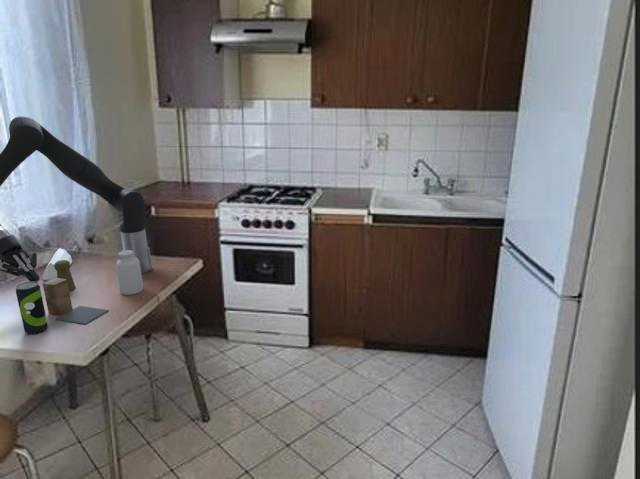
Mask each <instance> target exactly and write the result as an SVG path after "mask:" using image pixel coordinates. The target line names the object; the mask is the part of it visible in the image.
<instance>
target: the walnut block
mask: <svg viewBox="0 0 640 479" xmlns="http://www.w3.org/2000/svg"><path fill="white" fill-rule="evenodd" d="M42 288H43V292H44V297H45V302H46V308H47V311H48V315H49V316H56V317H59V316H61V315H63V314H65V313H67V312H69V311H71V310H72V309H74V307H73V304H72V299H71V293H70V292H71V291H69V287H68V282H67V279H61V278H53V279H51V280H49V281H47V280H46V281H45V282H43V283H42Z"/></svg>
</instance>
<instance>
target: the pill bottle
mask: <svg viewBox="0 0 640 479" xmlns="http://www.w3.org/2000/svg"><path fill="white" fill-rule="evenodd" d="M117 255H118V260H117V261H116V262H115V267H116V274H117V275H116V276H117V281H118V287H119V288H118V289H119V293H120V294H121V295H125V296H129V295H130V296H131V295H136V294H139V293H141V292H142V291H143V290H144V286H143V284H144V283H143V276H142V274H141V268H140V261H139V260H138V259H137V258H136V257H135V255H134V251H132V250H125V251H123V250H121V251H119V252H118V254H117Z"/></svg>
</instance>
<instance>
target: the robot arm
mask: <svg viewBox="0 0 640 479" xmlns="http://www.w3.org/2000/svg"><path fill="white" fill-rule="evenodd" d="M8 126H9V127H8V131H9V132H8V134H9V140H8V141H7V143H6V145H5V147H4V148H3V150H2V151H1V152H0V187H2V185H3V183H5V182H6V180H7V179H8V178H9V177H10V176H11V174H12V173H13V172H14V171H15V170H16V169H17V168H18V167H19V166H20V165H22V163H23V162H24V161H25V160H27V159H28V158H29V157H31V155H32V154H34V153H36V151H38V152H39V153H40V154H42V155H43V156H45V158H47V159H48V160H49V161H50V162H51V163H52V164H53V165H54V166H55V167H56V169H58V170H59V171H60V172H61V173H62V174H63V175H64V176H66V177H67V178H69V179H70V180H71V181H73V182H74V183H76V184H77V185H78V186H79V185H80V186H81V187H82V188H84V189H87V191H90V192H92V193H94V194H96V195H98V196H99V197H100V198H102V199H103V200H104V201H106V203H108V204H110V205H111V206H112V207H113V208H114V209H115V210H117V211H118V212H120V213H122V217H123V218H122V219H123V222H121V223H120V224H119V231H120V237H121V238H120V239H121V244H122V251H125V250H132V251H134V255H135V257H136V258H137V259H138V260H139V261H140V268H141V275H142V274H145V273H147V272H149V271H151V270H153V264H152V256H151V249H150V246H148V240H147V233H146V222H147V221H146V220H147V213H146V203H145V199H144V197H143V194H141V193H140V192H139V191H135V190H131V189H127V188H125V187H122V186H121V185H119V184H117V182H114V181H113V180H111V179H109V177H108V176H107V175H106V174H105V173H104V171H103V170H102V169H101V168H100V167H99V166H98V165H97V164H96V163H94V161H91V160H90V159H89V158H87V157H85V156H84V155H82V154H81V153H79V152H78V151H77V150H75V149H73V148H72V147H71V146H69V145H67V144H66V143H64V142H63V141H61V140H60V139H59V138H57V137H55V136H54V135H53V134H52V133H51V132H50V131H48V130H47V129H46V128H45V127H44V126H43V125H42V124H41V123H40V122H38V121H36V120H35V119H34V118H32V117H29V116H20V115H19V116H16V117H14V118H12V120H10V123H9V125H8ZM37 257H38V255H37V253H36V252H33V253H28V252H27V251H26V250H24V249H23V247H22V245H21V244H20V243H19V241H18V240H16V238H15V237H14V236H13V235H12V234H11V233H10V232H9V231H8V230H7V229H6V228H5V227H4V226H2V224H1V223H0V261H1V263H2V265H1V266H0V271H1V272H4V273H6V274H8V275H12V276H16V277H20V276H23V277H25V278H26V279H27V280H28V282H31V281H35V282H38V283H39V281H40V275H39V274H38V273H37V272H36V271H35V269H36V268H37V265H38V264H37V263H38V261H37V260H38V258H37Z"/></svg>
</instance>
